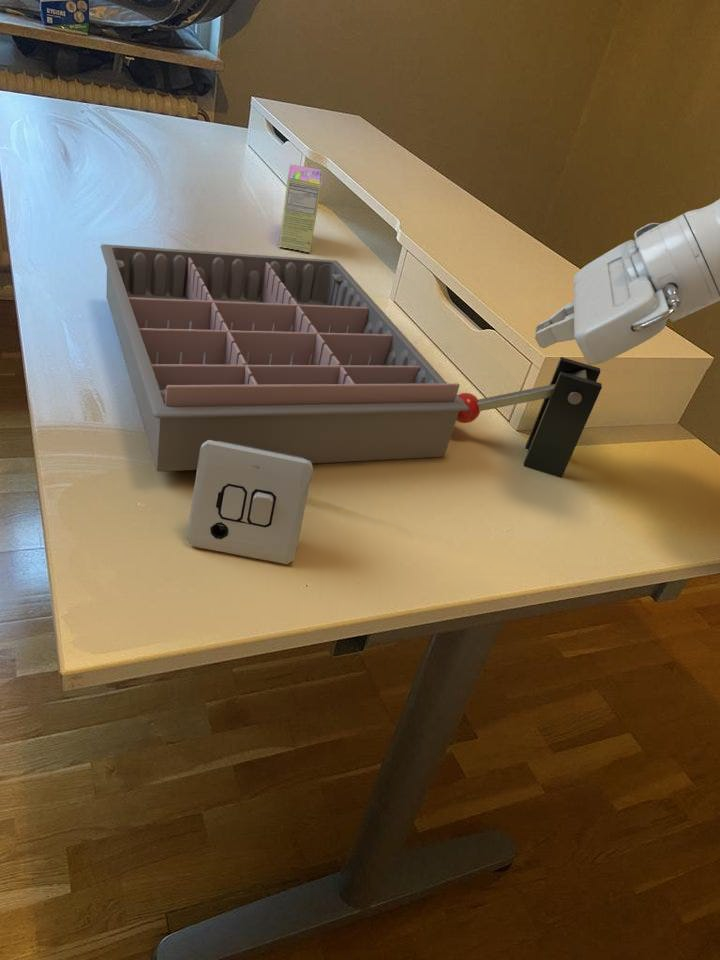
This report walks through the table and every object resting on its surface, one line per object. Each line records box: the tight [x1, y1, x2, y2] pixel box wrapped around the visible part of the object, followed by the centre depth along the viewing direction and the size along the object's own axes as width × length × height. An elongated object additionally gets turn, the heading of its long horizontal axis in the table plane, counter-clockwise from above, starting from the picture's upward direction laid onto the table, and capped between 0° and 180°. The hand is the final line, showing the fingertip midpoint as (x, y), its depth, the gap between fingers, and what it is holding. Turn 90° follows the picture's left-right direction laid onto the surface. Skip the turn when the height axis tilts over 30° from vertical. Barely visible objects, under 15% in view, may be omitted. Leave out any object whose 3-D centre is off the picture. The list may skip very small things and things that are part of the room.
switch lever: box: [456, 370, 588, 424], centre depth 81 cm, size 15×3×3 cm
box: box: [278, 164, 322, 254], centre depth 129 cm, size 10×6×12 cm, turn 2°
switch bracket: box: [523, 356, 603, 479], centre depth 81 cm, size 12×10×13 cm
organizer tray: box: [100, 243, 469, 473], centre depth 86 cm, size 32×40×10 cm
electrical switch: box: [186, 440, 314, 565], centre depth 63 cm, size 9×5×9 cm, turn 87°
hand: (537, 337), depth 77 cm, fingers closed
